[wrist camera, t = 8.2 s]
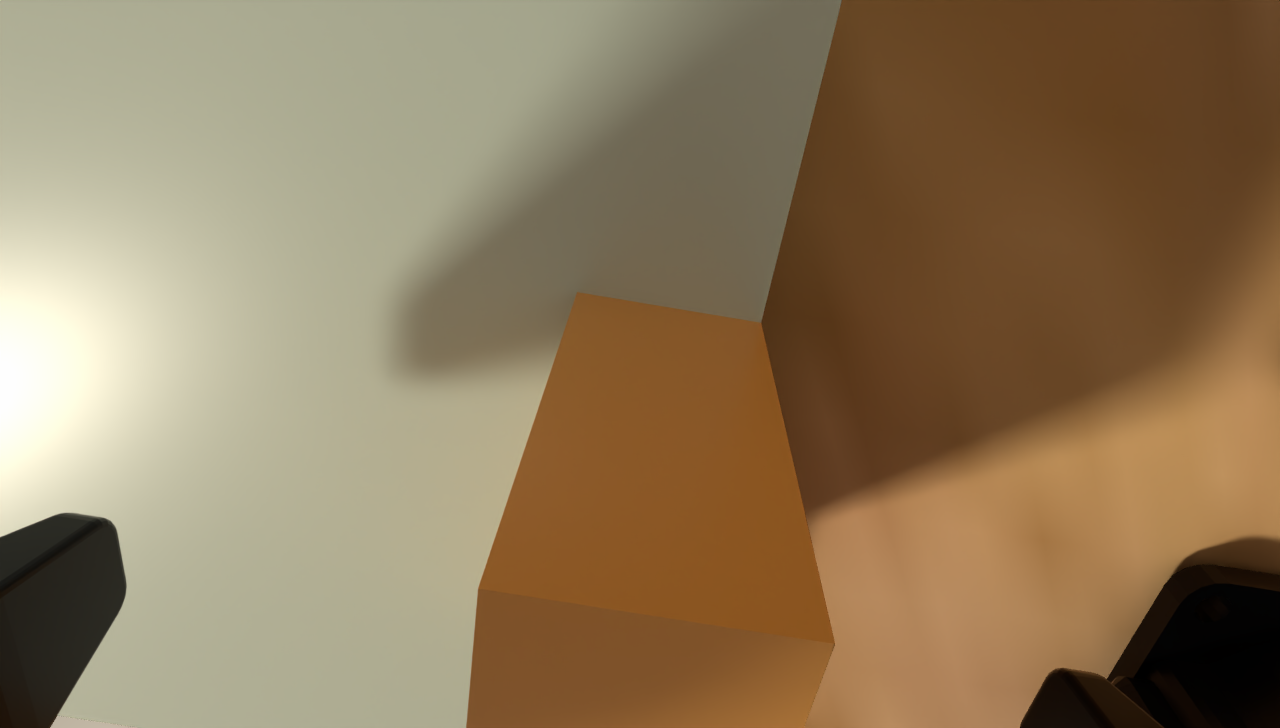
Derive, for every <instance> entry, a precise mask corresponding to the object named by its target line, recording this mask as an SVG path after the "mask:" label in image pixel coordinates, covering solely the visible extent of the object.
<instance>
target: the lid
mask: <svg viewBox="0 0 1280 728" xmlns="http://www.w3.org/2000/svg"><path fill="white" fill-rule="evenodd" d="M841 2H842V0H0V537H1V536H4V535H6V534H9V533H11V532H14V531H16V530H19V529H21V528H24V527H26V526H29V525H31V524H34V523H36V522H39V521H41V520H44V519H46V518H49V517H51V516H54V515H57V514H60V513H78V514H84V515H91V516H97V517H103V518H106V519H108V520H110V521H111V522H112V523H113V524H114V525H115V527H116V529H117V533H118V538H119V544H120V549H121V555H122V560H123V566H124V571H125V577H126V583H127V588H126V596H125V600H124V602H123V605H122V608H121V610H120V612H119V613H118V615H117V617H116V618H115V620H114V622H113V623H112V625H111V627H110V629H109V630H108V632H107V634H106V635H105V637H104V639H103V640H102V642H101V644H100V645H99V647H98V649H97V650H96V652H95V654H94V655H93V657H92V659H91V660H90V662H89V664H88V665H87V667H86V669H85V670H84V672H83V674H82V675H81V677H80V679H79V680H78V682H77V684H76V685H75V687H74V689H73V690H72V692H71V694H70V695H69V697H68V699H67V700H66V702H65V704H64V705H63V707H62V709H61V710H60V712H59V714H58V715H57V716H63V717H70V718H77V719H83V720H90V721H97V722H104V723H110V724H117V725H124V726H130V727H137V728H804V726H805V723H806V720H807V718H808V715H809V712H810V710H811V707H812V704H813V702H814V699H815V696H816V694H817V691H818V688H819V686H820V683H821V680H822V678H823V675H824V672H825V670H826V667H827V664H828V662H829V659H830V656H831V654H832V651H833V648H834V646H835V641H834V637H833V633H832V628H831V624H830V620H829V615H828V611H827V607H826V602H825V598H824V594H823V589H822V585H821V581H820V576H819V572H818V568H817V563H816V559H815V555H814V550H813V546H812V542H811V537H810V533H809V529H808V524H807V520H806V516H805V511H804V507H803V503H802V498H801V494H800V490H799V485H798V481H797V477H796V472H795V468H794V464H793V459H792V455H791V451H790V446H789V442H788V438H787V433H786V429H785V424H784V420H783V416H782V411H781V407H780V403H779V398H778V394H777V390H776V385H775V381H774V377H773V372H772V368H771V364H770V359H769V355H768V351H767V346H766V342H765V338H764V333H763V329H762V325H761V321H762V317H763V313H764V309H765V305H766V301H767V297H768V293H769V289H770V285H771V281H772V277H773V273H774V269H775V265H776V261H777V257H778V253H779V249H780V245H781V241H782V237H783V233H784V229H785V225H786V221H787V217H788V213H789V209H790V205H791V201H792V197H793V193H794V189H795V185H796V181H797V177H798V173H799V169H800V165H801V161H802V157H803V153H804V149H805V145H806V141H807V137H808V133H809V129H810V125H811V121H812V117H813V113H814V109H815V105H816V102H817V98H818V94H819V90H820V86H821V82H822V78H823V74H824V70H825V66H826V62H827V58H828V54H829V50H830V46H831V42H832V38H833V34H834V30H835V26H836V22H837V18H838V14H839V10H840V6H841Z"/></svg>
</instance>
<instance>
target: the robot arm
mask: <svg viewBox="0 0 1280 728" xmlns="http://www.w3.org/2000/svg"><path fill="white" fill-rule="evenodd" d="M126 588H127V583H126V577H125V571H124V566H123V560H122V555H121V549H120V544H119V538H118V533H117V529H116V527H115V525H114V524H113V523H112V522H111V521H110V520H108V519H106V518H103V517H97V516H91V515H84V514H78V513H60V514H57V515H54V516H51V517H49V518H46V519H44V520H41V521H39V522H36V523H34V524H31V525H29V526H26V527H24V528H21V529H19V530H16V531H14V532H11V533H9V534H6V535H4V536H1V537H0V728H50V727H51V725H52V724H53V722H54V720H55V719H56V717H57V715H58V714H59V712H60V710H61V709H62V707H63V705H64V704H65V702H66V700H67V699H68V697H69V695H70V694H71V692H72V690H73V689H74V687H75V685H76V684H77V682H78V680H79V679H80V677H81V675H82V674H83V672H84V670H85V669H86V667H87V665H88V664H89V662H90V660H91V659H92V657H93V655H94V654H95V652H96V650H97V649H98V647H99V645H100V644H101V642H102V640H103V639H104V637H105V635H106V634H107V632H108V630H109V629H110V627H111V625H112V623H113V622H114V620H115V618H116V617H117V615H118V613H119V612H120V610H121V608H122V605H123V602H124V600H125V596H126ZM1202 600H1203V601H1202ZM1020 728H1280V575H1274V574H1268V573H1262V572H1256V571H1250V570H1243V569H1237V568H1231V567H1225V566H1219V565H1196V566H1192V567H1188V568H1185V569H1183V570H1182V571H1180V572H1178V573H1176V574H1175V575H1173V576H1172V577H1171V578H1170V579H1169V580H1168V582H1167V583H1166V584H1165V585H1164V587H1163V588H1162V590H1161V591H1160V593H1159V595H1158V596H1157V598H1156V600H1155V601H1154V603H1153V605H1152V606H1151V608H1150V609H1149V611H1148V613H1147V614H1146V616H1145V618H1144V619H1143V621H1142V623H1141V624H1140V626H1139V627H1138V629H1137V631H1136V632H1135V634H1134V636H1133V637H1132V639H1131V641H1130V642H1129V644H1128V645H1127V647H1126V649H1125V650H1124V652H1123V654H1122V655H1121V657H1120V659H1119V660H1118V662H1117V664H1116V665H1115V667H1114V668H1113V670H1112V672H1111V673H1110V675H1109V677H1108V678H1107V679H1106V678H1104V677H1102V676H1101V675H1098V674H1095V673H1091V672H1085V671H1079V670H1072V669H1066V668H1058V669H1055V670H1053V671H1052V672H1050V673H1049V674H1048V676H1047V677H1046V679H1045V680H1044V682H1043V684H1042V686H1041V688H1040V689H1039V691H1038V693H1037V695H1036V697H1035V698H1034V700H1033V702H1032V704H1031V706H1030V707H1029V709H1028V711H1027V713H1026V714H1025V716H1024V718H1023V720H1022V722H1021V725H1020Z"/></svg>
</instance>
